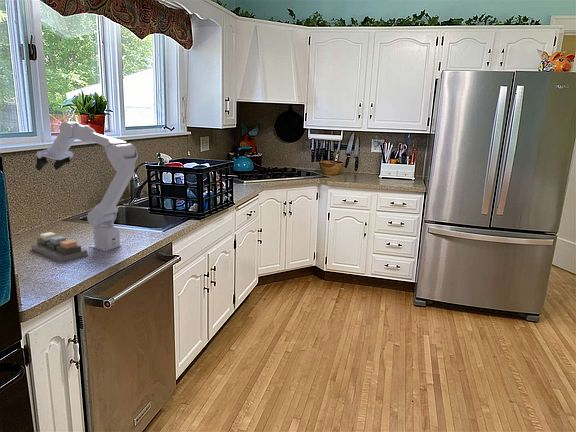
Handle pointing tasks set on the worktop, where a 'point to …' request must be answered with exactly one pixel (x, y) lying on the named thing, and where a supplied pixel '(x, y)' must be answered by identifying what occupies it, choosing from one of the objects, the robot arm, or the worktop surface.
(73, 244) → the terracotta key
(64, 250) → the key panel
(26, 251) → the worktop surface
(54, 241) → the slate blue key
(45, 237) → the off-white key
